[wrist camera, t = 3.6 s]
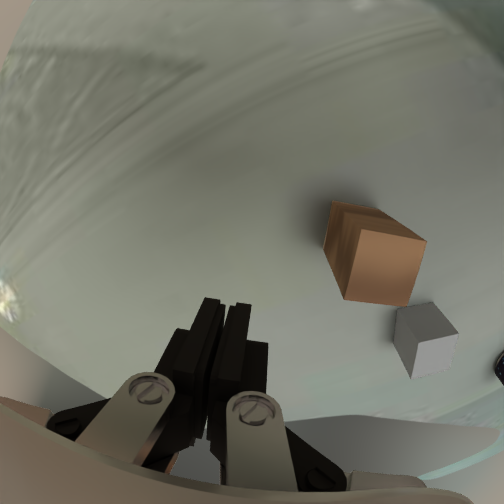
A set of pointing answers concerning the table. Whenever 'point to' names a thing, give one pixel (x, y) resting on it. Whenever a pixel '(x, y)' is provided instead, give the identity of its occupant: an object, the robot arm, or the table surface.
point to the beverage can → (500, 368)
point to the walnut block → (372, 255)
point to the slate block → (424, 339)
